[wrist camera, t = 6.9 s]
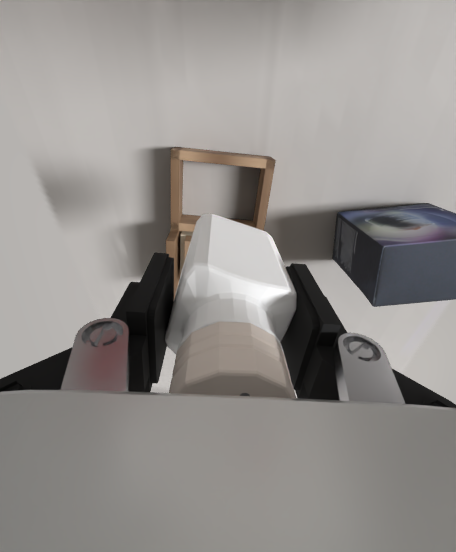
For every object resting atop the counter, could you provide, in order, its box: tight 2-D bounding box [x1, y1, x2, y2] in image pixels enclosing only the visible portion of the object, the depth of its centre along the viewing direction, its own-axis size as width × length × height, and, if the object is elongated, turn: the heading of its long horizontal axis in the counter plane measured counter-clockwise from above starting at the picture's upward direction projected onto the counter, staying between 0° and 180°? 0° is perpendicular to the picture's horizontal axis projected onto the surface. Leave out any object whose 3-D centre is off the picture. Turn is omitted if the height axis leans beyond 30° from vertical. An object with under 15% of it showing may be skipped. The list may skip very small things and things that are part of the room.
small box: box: [333, 203, 456, 307], centre depth 28 cm, size 11×6×10 cm, turn 96°
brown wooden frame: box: [166, 147, 275, 299], centre depth 29 cm, size 10×14×6 cm, turn 174°
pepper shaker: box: [165, 214, 297, 398], centre depth 11 cm, size 4×4×10 cm
